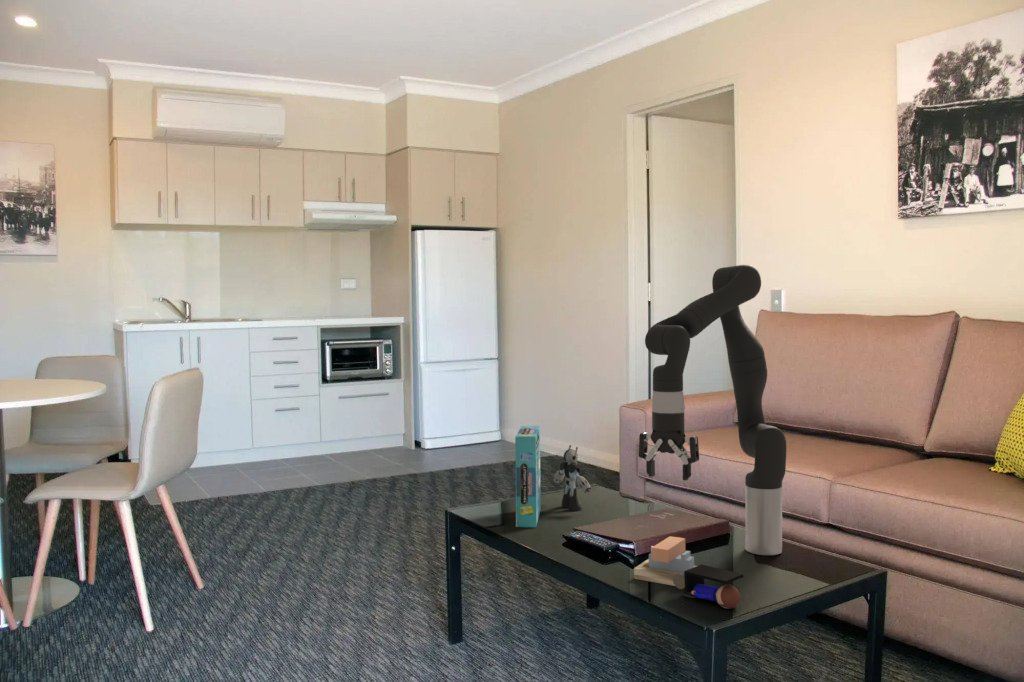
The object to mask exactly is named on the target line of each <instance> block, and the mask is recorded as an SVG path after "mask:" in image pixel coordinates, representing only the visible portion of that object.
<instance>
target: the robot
mask: <svg viewBox="0 0 1024 682" xmlns="http://www.w3.org/2000/svg"><path fill="white" fill-rule="evenodd" d="M571 447H572V445H571V444H570V445H569V447H568V449H566V450H565V451H564V453H563V460H564V461H562V462H561V463H560V464H559V470H556V471H555V473H554V476H553V479H552V480H553V482H554V483H555V484H561V482H563V480H564V479H565V484H564V491H563V496H562V500H561V508H562V509H568V511H571V512H579V511H582V509H583V508H582V506H581V504H580V503H579V499H578V493H577V487H576V484H577V486H578V487H579V488H580V490H581V491H582V492H583V493H585V494H586V493H590V491H591V489H592V487H591V485H590V483H589V482H588V480H587V479H586V478H585V476H582V475H580V474H579V473H580V472H581V469H580V468H581V467H579V465H578V463H577V462H578V458H579V457H578V446H576V447H575V450H574V449H572V448H571Z"/></svg>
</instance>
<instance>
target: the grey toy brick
mask: <svg viewBox="0 0 1024 682" xmlns="http://www.w3.org/2000/svg"><path fill="white" fill-rule="evenodd" d="M654 546H655V545H651V546H650V551H651V552H650V553H648V559H649V568H652V569H658V570H664V571H670V572H676V573H680V572H682V573H684V571H686V570H688V569H691V568H694V566H695V557H694V556H691V551H690V550H685V551H684V552H683V553H682V554H680V555H679V556H677V557H676V558H674V559H673V560H672V561H670V562H669V563H666V562H660V561H653V560H652V547H654Z"/></svg>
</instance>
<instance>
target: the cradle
mask: <svg viewBox="0 0 1024 682" xmlns="http://www.w3.org/2000/svg"><path fill="white" fill-rule="evenodd" d="M697 566H698V565H694V567H697ZM633 573H634V574H633V578H634V579H635V580H640V581H645V582H649V583H650V582H651V583H657V584H661V585H668V586H673V587H676V586H675V585H674V583H673V576H674V575H675V574H677V573H676V572H670V571H664V570H658V569H652V568H649V558H647V559H646V560H644V561H642V562H641V563H640V564H638V565H637V566H635V567H634V568H633Z"/></svg>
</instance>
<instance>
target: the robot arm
mask: <svg viewBox="0 0 1024 682" xmlns="http://www.w3.org/2000/svg"><path fill="white" fill-rule="evenodd" d="M711 281H712V283H711V285H712V292H710V293H709V294H707V295H704V296H702V297H699V298H697V299H695V300H693V301H691V302H690V303H689V304H688V305H686V306H685V307H683V308H682V309H681V310H679V311H678V312H677V313H676V314H674V315H672V316H671V315H670V316H669V317H667V318H665V319H663V320H660V321H657V323H655V324H653V325H652V326H651V327H650V328H649V329H648V330H647V331H646V335H645V338H644V345H645V347H646V350H647V351H649V352H650V353H651V354H654V355H658V356H659V355H660V356H667V357H666V360H665V363H664V364H661V365H657V366H655V367H654V368H653V370H652V396H651V397H652V398H651V427H652V428H651V429H652V431H651V433H648V432H647V431H644V432H641V433H640V434H639V438H638V440H639V441H638V457H639V458H640V459H644V460H645V461H646V465H645V466H646V474H647V475H648V477H651V478H653V477H655V474H656V468H655V467H656V460H654V459H655V458H656V457H657V455H658V454H659V453H661V454H663V453H664V454H665V453H667V454H675V455H676V456H677V457H678V458H679V459H680V461H682V463H683V464H682V480H683V481H688V480H689V478H691V476H692V464H694V463H696V462H698V461H700V450H699V449H700V447H699V446H700V445H699V437H698V436H697V435H692V436H687V435H686V434H685V433H686V432H685V409H686V406H685V396H684V371H685V366H686V363H687V360H688V359H687V358H688V357H689V356H688V355H689V351H690V347H691V339H693V338H696V336H698V335H699V334H701V332H703V331H704V330H705V329H706V328H707V327H709V326H710V325H711V324H712V323H713V322H715V321H717V320H718V319H720V321H721V326H722V331H723V336H724V340H725V346H726V351H727V359H728V366H729V372H730V376H731V381H732V388H733V394H734V399H735V404H736V405H735V406H736V412H737V413H736V414H737V415H736V416H737V428H738V431H737V432H738V440H739V445H740V448H741V450H742V452H743V453H744V454H745V455H746V456H748V457H750V458H754V463H753V465H754V466H753V470H752V471H749V472H748V473H746V475H745V479H744V483H745V487H744V488H745V489H744V490H745V496H744V497H745V503H744V504H745V536H744V537H745V539H744V540H745V542H744V543H745V551H746V552H748V553H750V554H753V555H759V556H776V555H779V554H782V552H783V480H784V478H785V474H786V469H787V467H786V465H787V439H786V436H785V433H784V432H783V431H782V430H781V429H780V428H778V427H776V426H773V425H769V424H766V421H765V416H764V412H763V411H764V410H763V404H762V402H763V395H764V391H765V388H766V384H767V382H768V381H767V380H768V367H767V366H768V365H767V361H766V360H767V359H766V355H765V350H764V347H763V345H762V343H761V342H760V341H759V339H758V338H757V336H756V335H755V333H754V332H753V331H752V330H751V328H749V326H748V325H747V324H746V322H745V320H744V318H743V316H742V314H741V313H742V312H741V310H740V305H743V304H744V303H747V302H748V301H751V300H753V299H754V298H756V297H757V296H758V294H759V293H760V291H761V287H762V278H761V275H760V272H759V270H758V269H757V268H756V267H755V266H753V265H750V264H739V265H733V266H730V265H729V266H726V267H725V266H724V267H720V268H718V269H716V270H715V271H714V273H713V276H712V280H711ZM650 441H651V442H652V443H653V445H652V448H651V449H650V450H649V452H648V445H649V442H650ZM685 443H687V445H688V446H689V453H688V451H687V449H686V448H685V446H684V444H685ZM689 454H690V455H689Z"/></svg>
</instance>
